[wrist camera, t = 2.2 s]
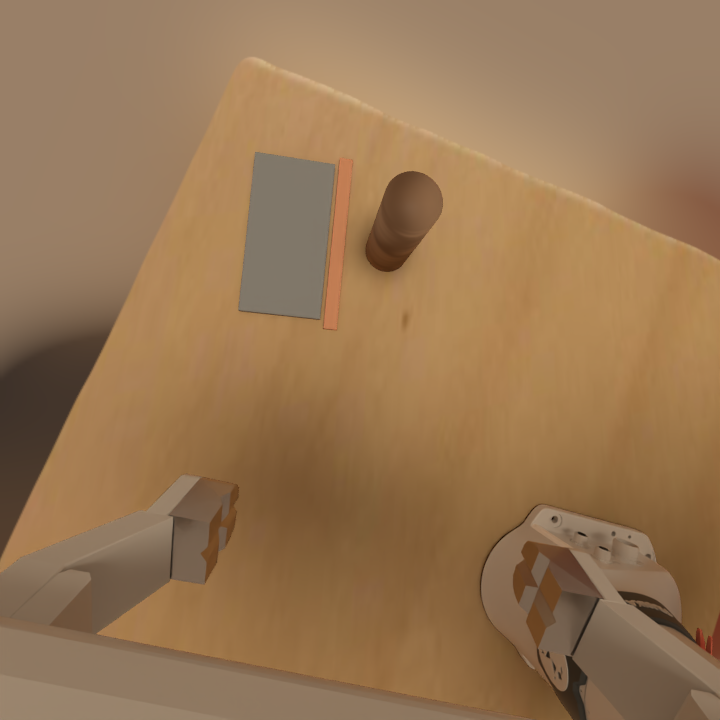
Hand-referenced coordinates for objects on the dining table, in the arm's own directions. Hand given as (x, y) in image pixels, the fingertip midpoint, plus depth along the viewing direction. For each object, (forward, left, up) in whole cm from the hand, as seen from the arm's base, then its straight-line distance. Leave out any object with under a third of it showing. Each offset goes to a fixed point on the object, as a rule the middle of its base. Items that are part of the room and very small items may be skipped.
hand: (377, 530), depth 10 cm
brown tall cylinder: (-4, -19, -30) cm, 35 cm away
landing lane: (+6, -19, -30) cm, 36 cm away
